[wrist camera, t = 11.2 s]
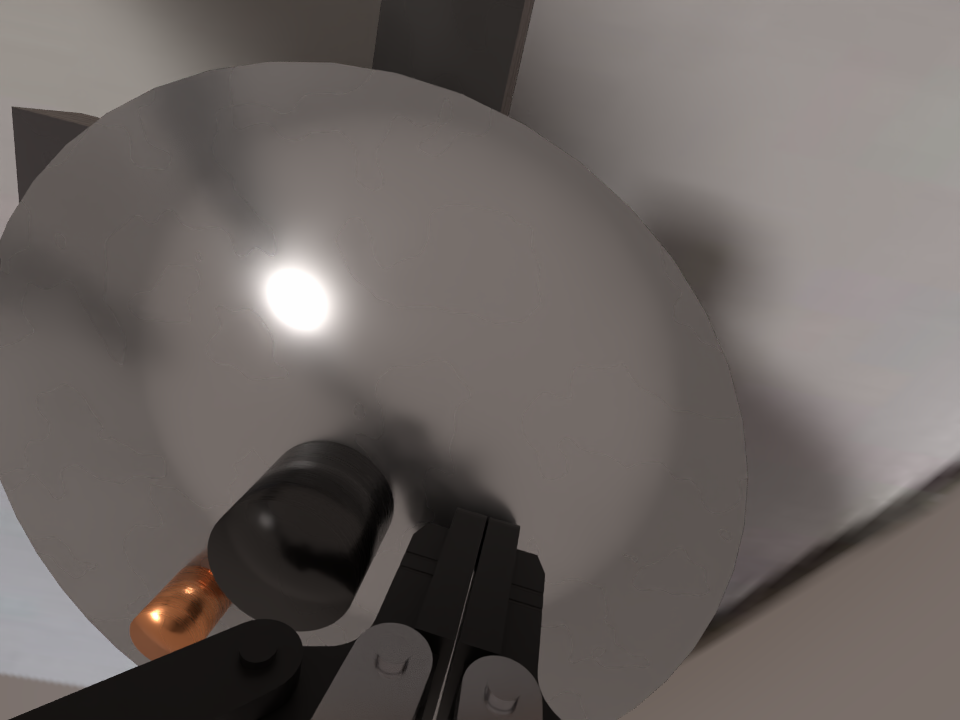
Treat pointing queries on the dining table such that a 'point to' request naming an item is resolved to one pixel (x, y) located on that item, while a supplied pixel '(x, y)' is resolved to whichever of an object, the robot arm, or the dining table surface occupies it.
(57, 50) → the dining table surface
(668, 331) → the cooker lid
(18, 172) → the cooker pot
